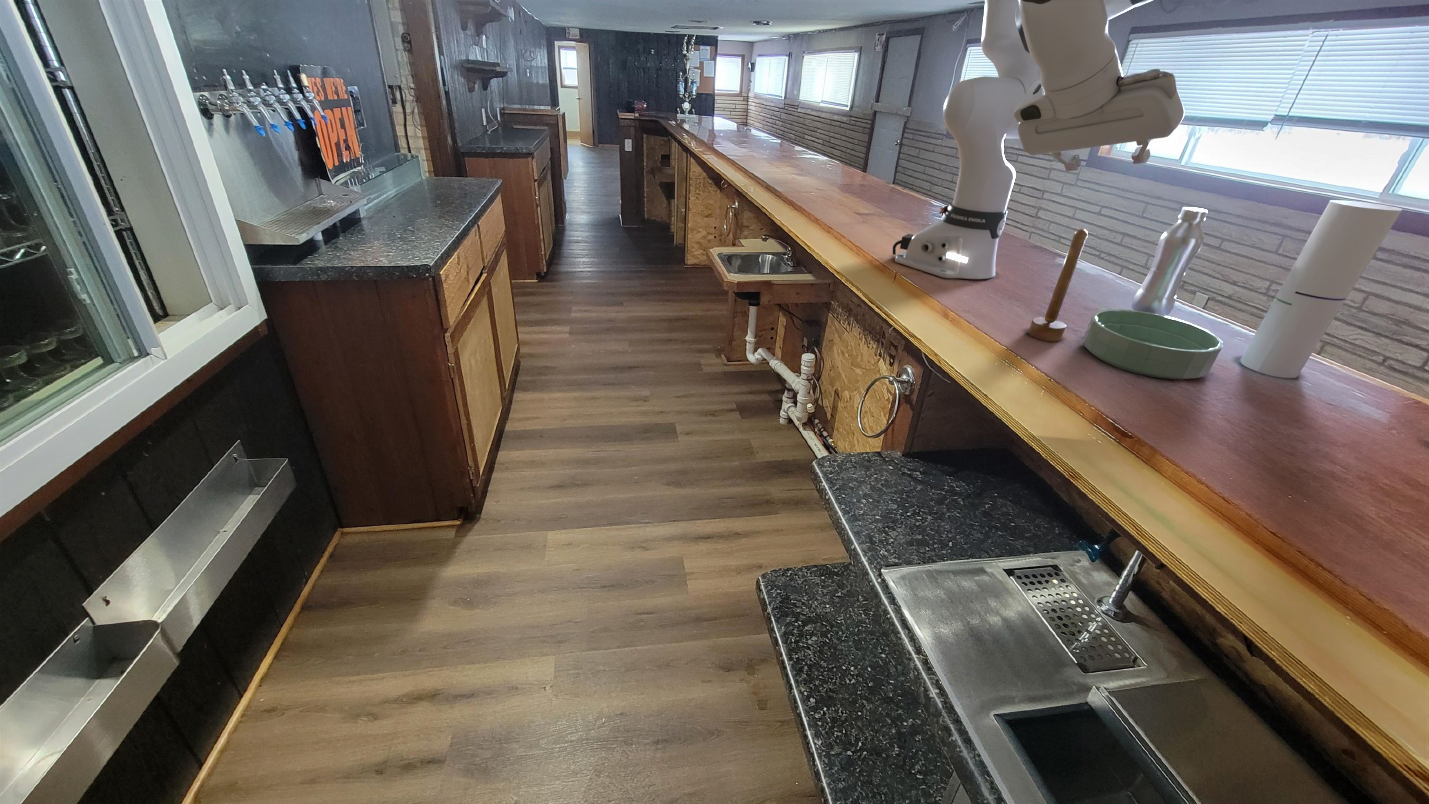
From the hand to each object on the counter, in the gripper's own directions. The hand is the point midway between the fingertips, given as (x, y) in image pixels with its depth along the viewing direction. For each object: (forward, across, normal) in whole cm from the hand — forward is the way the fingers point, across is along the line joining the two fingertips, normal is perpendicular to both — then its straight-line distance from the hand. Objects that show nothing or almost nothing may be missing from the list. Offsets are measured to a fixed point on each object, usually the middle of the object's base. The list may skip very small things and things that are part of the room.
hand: (1106, 164), depth 85 cm
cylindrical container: (+38, -18, +7) cm, 43 cm away
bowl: (+26, -7, +16) cm, 31 cm away
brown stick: (+19, +6, +19) cm, 28 cm away
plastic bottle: (+39, +2, -2) cm, 39 cm away
